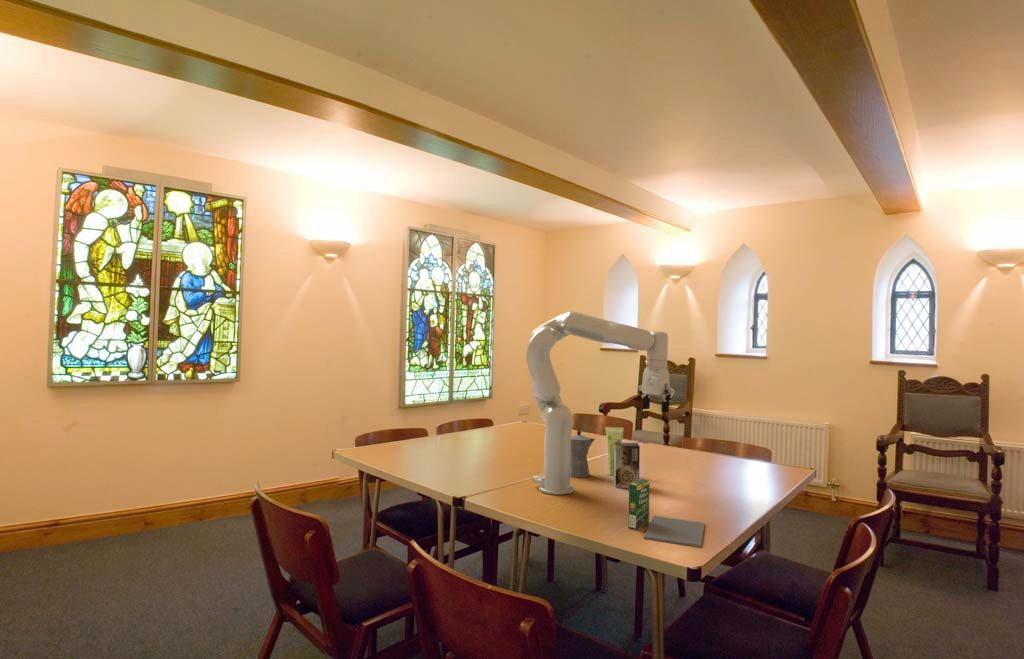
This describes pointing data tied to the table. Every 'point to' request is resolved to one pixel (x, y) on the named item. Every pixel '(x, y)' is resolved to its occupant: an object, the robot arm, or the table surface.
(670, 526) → the mat
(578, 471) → the coffeepot
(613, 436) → the tube
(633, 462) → the coffee box
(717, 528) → the table surface
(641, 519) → the coffee box
